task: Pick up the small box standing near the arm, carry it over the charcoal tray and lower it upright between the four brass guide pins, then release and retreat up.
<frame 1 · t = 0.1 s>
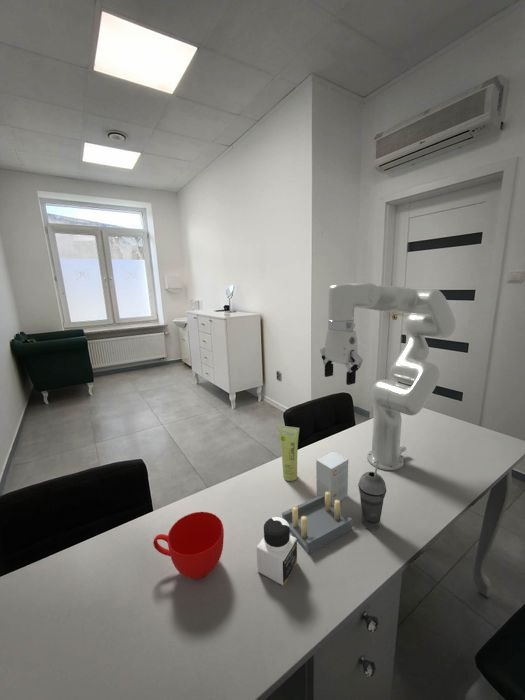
hand: (339, 379, 94), 37 cm above the table, tool pointing down, fingers open, 9 cm apart
medicine bottle: (277, 567, 72), on the table
small box: (331, 496, 96), on the table
ceramic cup: (191, 567, 73), on the table
pin tray: (316, 525, 84), on the table
beverage cup: (370, 523, 84), on the table
tube: (289, 477, 106), on the table
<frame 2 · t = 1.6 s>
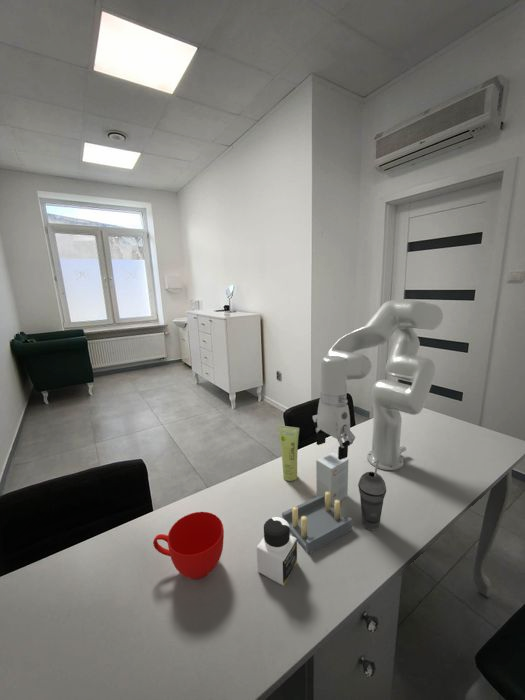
hand: (331, 450, 92), 16 cm above the table, tool pointing down, fingers open, 9 cm apart
nothing on the table moved.
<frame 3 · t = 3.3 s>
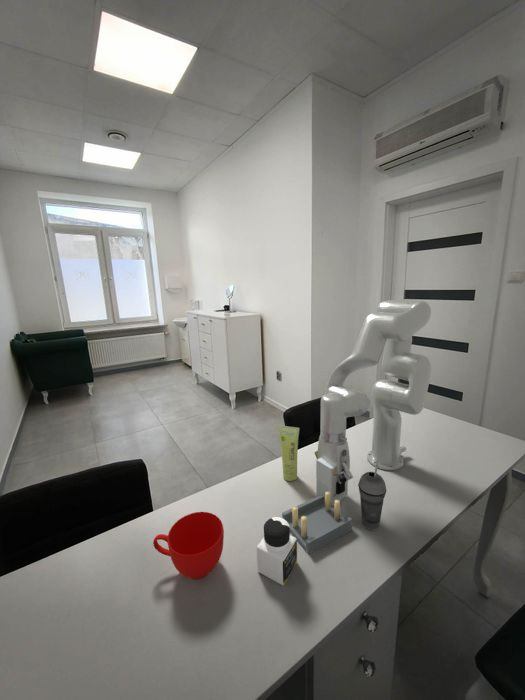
hand: (331, 485, 95), 4 cm above the table, tool pointing down, fingers closed on small box, 6 cm apart
small box: (331, 496, 96), on the table, touching gripper
everything else where it was.
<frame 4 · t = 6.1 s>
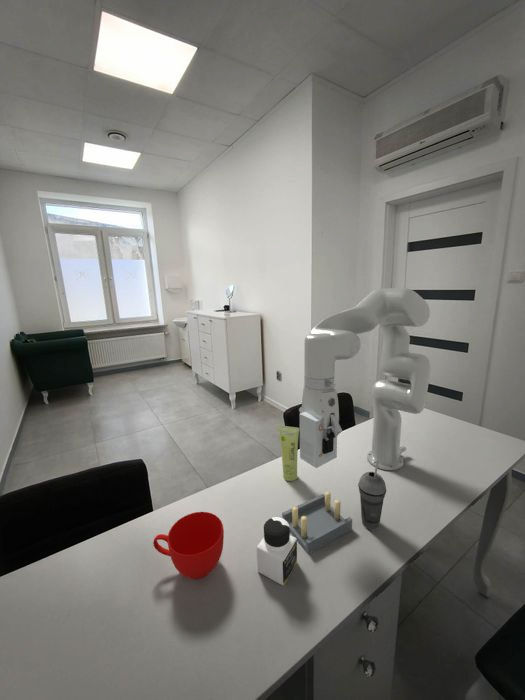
hand: (318, 445, 80), 24 cm above the table, tool pointing down, fingers closed on small box, 6 cm apart
small box: (318, 458, 81), point 20 cm above the table, touching gripper
everything else where it was.
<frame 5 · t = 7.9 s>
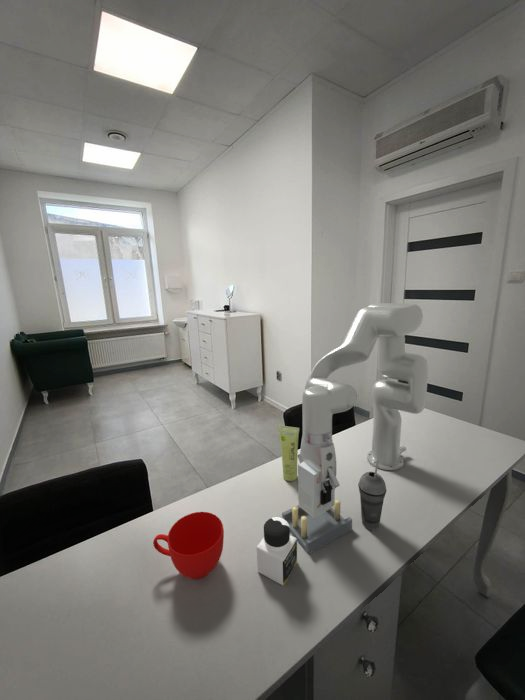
hand: (316, 493, 82), 10 cm above the table, tool pointing down, fingers closed on small box, 6 cm apart
small box: (316, 506, 83), point 6 cm above the table, touching gripper
everything else where it was.
when the fingers open (6 cm above the table, at t = 9.2 s): small box drops 1 cm, resting on pin tray.
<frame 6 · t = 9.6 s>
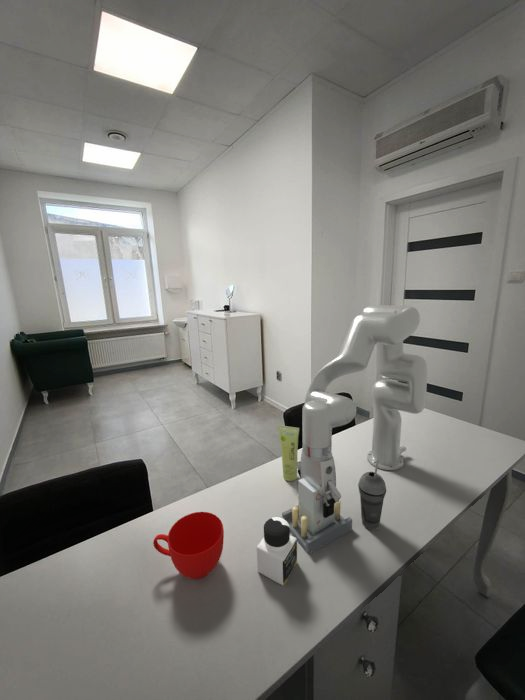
hand: (316, 504, 82), 7 cm above the table, tool pointing down, fingers open, 9 cm apart
small box: (316, 522, 84), point 1 cm above the table, touching pin tray
everything else where it was.
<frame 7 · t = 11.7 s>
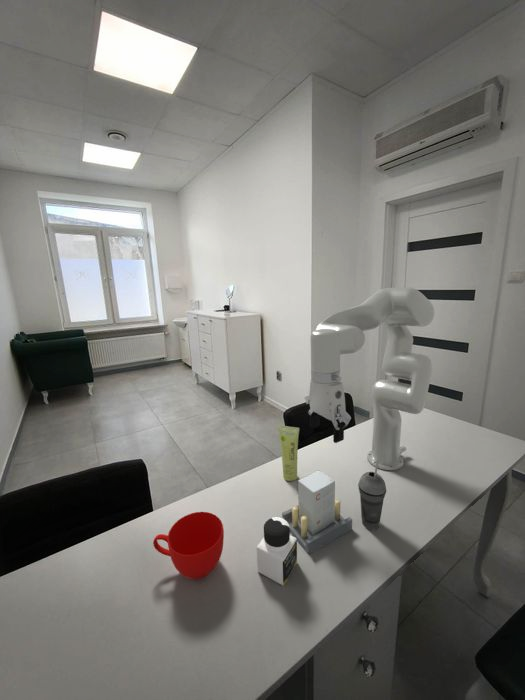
hand: (326, 433, 84), 25 cm above the table, tool pointing down, fingers open, 9 cm apart
nothing on the table moved.
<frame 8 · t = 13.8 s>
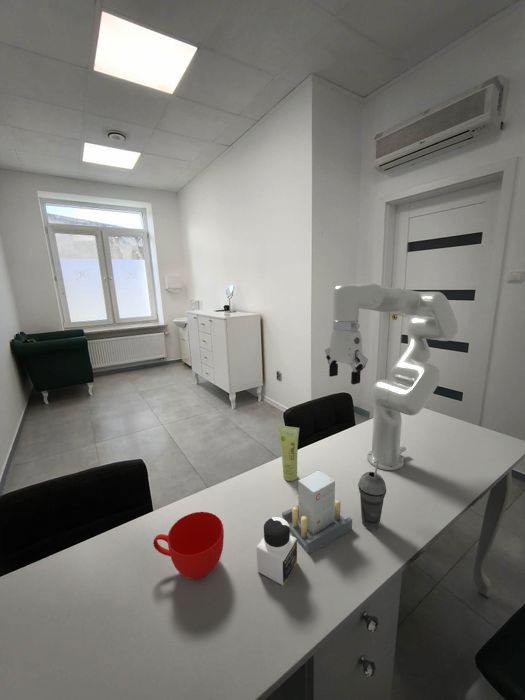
hand: (344, 379, 95), 36 cm above the table, tool pointing down, fingers open, 9 cm apart
nothing on the table moved.
at the end: small box 0.3 cm off-centre on the pin tray, point 1.0 cm above the pin tray's base; small box tilted 0°; the gripper is holding nothing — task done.
